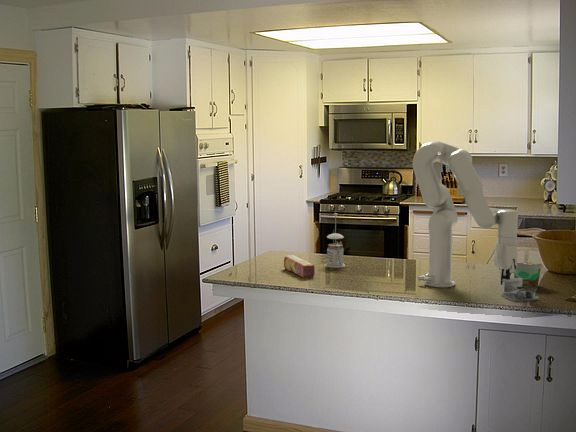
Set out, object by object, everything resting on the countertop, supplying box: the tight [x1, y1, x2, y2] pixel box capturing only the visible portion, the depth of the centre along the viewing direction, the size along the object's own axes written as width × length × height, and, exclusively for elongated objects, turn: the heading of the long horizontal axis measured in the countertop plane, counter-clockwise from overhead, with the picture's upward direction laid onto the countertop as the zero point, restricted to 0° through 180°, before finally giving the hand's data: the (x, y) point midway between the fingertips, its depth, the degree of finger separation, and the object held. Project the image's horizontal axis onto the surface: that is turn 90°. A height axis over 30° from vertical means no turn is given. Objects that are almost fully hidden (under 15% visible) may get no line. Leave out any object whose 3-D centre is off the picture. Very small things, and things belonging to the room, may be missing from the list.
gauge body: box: [501, 290, 540, 303], centre depth 278 cm, size 11×9×3 cm
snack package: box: [283, 254, 316, 279], centre depth 320 cm, size 21×7×7 cm, turn 24°
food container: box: [513, 262, 544, 289], centre depth 296 cm, size 12×6×10 cm, turn 69°
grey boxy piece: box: [501, 277, 533, 296], centre depth 280 cm, size 10×9×5 cm
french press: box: [324, 212, 346, 268], centre depth 334 cm, size 10×12×25 cm
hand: (505, 284), depth 288 cm, fingers closed
